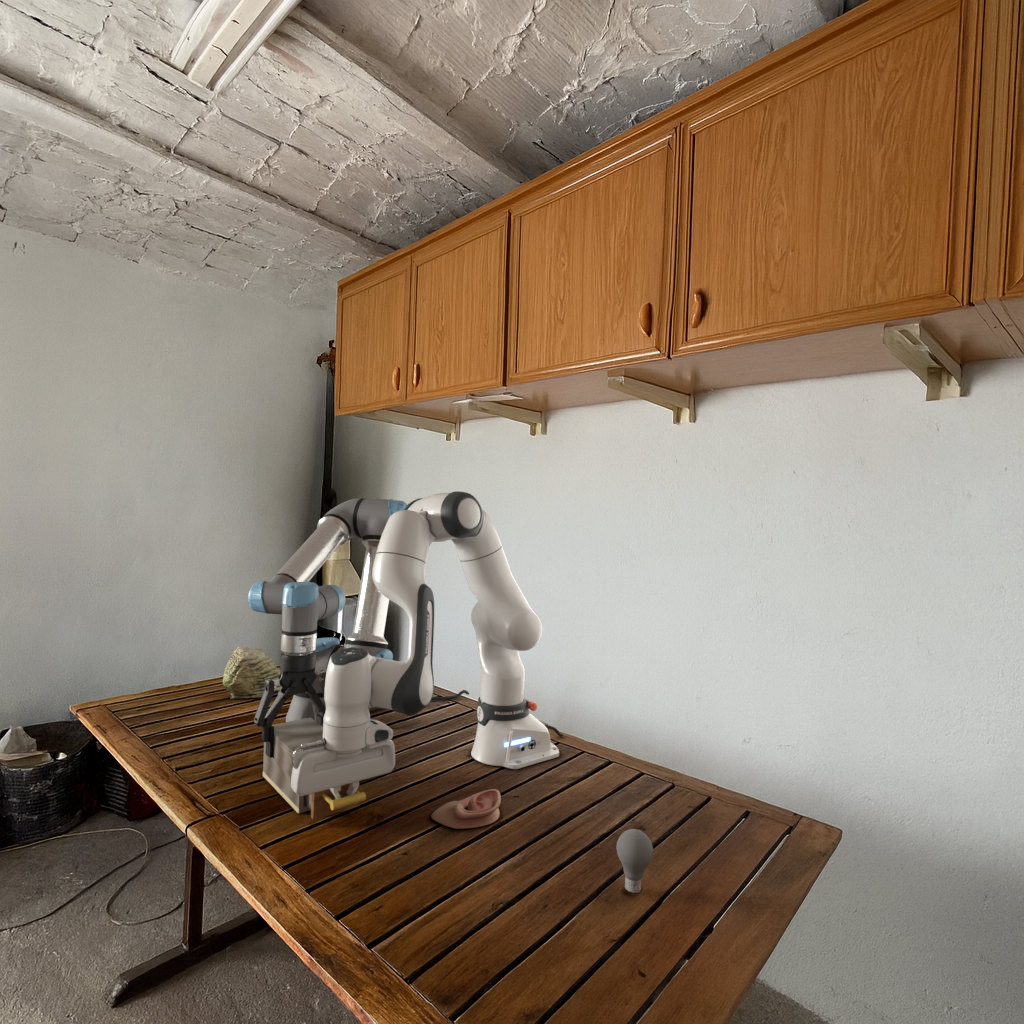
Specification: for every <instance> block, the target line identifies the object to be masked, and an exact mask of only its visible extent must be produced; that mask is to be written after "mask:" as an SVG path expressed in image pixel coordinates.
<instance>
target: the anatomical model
mask: <svg viewBox="0 0 1024 1024" xmlns="http://www.w3.org/2000/svg"><path fill="white" fill-rule="evenodd" d="M501 802H502V796H501V792H500V791H499V790H498V789H496V788H491V789H486V790H483V791H480V792H477V793H474V794H472V795H469V796H468V797H465V798H463V799H460V800H452V801H449V802H447V803H445V804H443V805H441V806H439V807H438V808H437V809H435V810H434V811H433V812H432V814H431V815H430V817H431V819H432V820H433V821H435V822H436V823H439V824H440V825H442V826H445V827H448V828H450V829H458V830H459V829H464V830H465V829H474V828H479V827H480V828H481V827H484V826H488V825H491V824H492V823H495V822H496V821H497V820H498V819H499V818H500V814H501V813H500V809H499V807H500V805H501Z"/></svg>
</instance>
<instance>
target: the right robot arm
mask: <svg viewBox="0 0 1024 1024" xmlns="http://www.w3.org/2000/svg"><path fill="white" fill-rule="evenodd" d="M450 540H451V542H452V543H453V544H454V546H455V550H456V553H457V556H458V559H459V563H460V565H461V568H462V571H463V574H464V577H465V580H466V582H467V585H468V588H469V590H470V591H471V593H472V594H473V595H474V597H475V598H476V600H477V602H476V603H475V604H474V606H473V607H472V609H471V613H470V621H471V623H472V626H473V628H474V631H475V636H476V643H477V649H478V657H479V663H480V683H479V685H480V687H479V697H478V699H477V700H478V701H477V710H476V717H477V725H476V727H477V728H476V734H475V737H474V742H473V745H472V749H471V752H470V754H471V757H472V758H473V759H474V760H475V761H477V762H479V763H481V764H485V765H488V766H489V765H490V766H494V767H495V766H496V767H504V768H507V769H511V770H519V769H522V768H526V767H529V766H532V765H535V764H539V763H542V762H545V761H549V760H553V759H555V758H559V757H560V749H559V748H558V747H557V746H556V745H555V744H554V743H553V742H552V741H551V735H550V730H552V731H553V732H555V734H556V735H557V736H558V737H559V738H562V737H564V734H563V733H561V732H560V731H559V729H558V728H556V727H554V726H552V725H549V724H548V723H547V722H544V721H541V720H539V719H538V718H537V717H535V716H534V715H533V714H531V713H530V711H532V712H535V711H537V709H538V704H537V703H536V702H534V701H533V700H531V701H530V700H528V699H527V698H525V697H524V696H525V679H526V677H525V676H526V675H525V674H526V673H525V671H526V670H525V666H524V664H523V661H522V658H521V656H520V652H525V651H530V650H532V649H533V648H535V647H536V646H537V645H538V643H539V642H540V640H541V638H542V635H543V624H542V623H543V622H542V621H541V619H540V617H539V616H538V615H537V614H536V612H534V610H533V609H532V607H531V605H530V604H529V602H528V600H527V599H526V597H525V595H524V593H523V591H522V589H521V588H520V586H519V585H518V582H517V581H516V579H515V577H514V575H513V572H512V570H511V567H510V564H509V562H508V558H507V555H506V553H505V550H504V547H503V544H502V541H501V539H500V537H499V533H498V531H497V528H496V527H495V525H494V523H493V521H492V520H491V518H490V516H489V514H488V513H487V512H486V511H485V510H484V509H482V506H481V504H480V502H479V501H478V498H476V497H475V496H474V495H472V494H471V493H469V492H467V491H466V492H465V491H459V490H458V491H451V492H441V493H434V494H431V495H428V496H425V497H419V498H416V499H414V500H412V501H410V502H409V503H407V506H406V507H405V508H404V509H403V510H401V511H397V512H395V513H393V514H392V515H391V516H390V518H389V519H388V521H387V524H386V526H385V528H384V531H383V533H382V536H381V539H380V542H379V545H378V548H377V552H376V556H375V560H374V565H373V571H372V578H373V581H374V584H375V586H376V588H377V589H378V590H379V592H380V593H381V594H382V595H383V596H385V597H386V598H388V599H389V601H391V602H392V603H394V604H396V605H398V606H399V607H400V608H402V609H403V610H404V612H405V613H406V614H407V618H408V621H409V627H408V628H409V629H408V646H407V657H406V658H407V659H406V660H405V661H401V660H400V661H399V660H394V659H393V660H388V659H384V658H378V657H374V656H371V655H369V653H368V651H367V650H365V649H363V648H357V647H351V648H345V649H341V650H339V651H337V652H335V653H334V654H332V656H331V657H330V660H329V663H328V666H327V671H326V678H325V690H324V700H325V703H326V711H325V714H324V718H323V739H321V740H316V741H313V742H310V743H303V744H301V745H300V747H298V748H297V749H296V750H295V751H294V752H293V758H292V764H293V770H292V776H291V788H292V790H293V791H294V792H295V793H296V794H297V795H299V796H305V795H308V794H312V793H316V792H320V791H323V790H327V789H330V790H331V792H332V793H333V795H334V796H335V800H336V799H339V798H343V797H346V796H350V795H353V794H355V792H356V790H357V789H358V787H359V788H360V781H364V780H367V779H368V780H369V779H371V778H376V777H379V776H382V775H387V774H390V773H392V772H393V770H394V768H395V767H396V745H395V743H394V741H393V740H392V739H393V737H394V730H393V729H392V728H391V727H390V726H388V725H387V724H385V723H384V722H382V721H380V720H378V719H373V718H372V719H371V712H369V709H370V708H371V707H373V708H374V707H379V708H381V709H384V710H390V711H394V712H396V713H399V714H402V715H404V716H405V715H406V716H409V717H412V716H415V715H417V714H419V713H420V712H422V711H423V710H424V709H425V708H426V707H428V705H430V703H431V701H432V700H431V699H432V697H434V691H435V680H434V679H435V678H434V668H433V667H434V665H433V661H434V659H433V657H434V637H435V636H434V634H435V597H434V592H433V589H432V588H431V587H430V586H429V585H428V583H427V580H426V566H427V561H428V557H429V548H430V546H431V545H432V543H442V542H446V541H450ZM519 651H520V652H519ZM299 749H300V750H299ZM346 784H350V785H349V788H348V790H347V792H346V793H344V794H340V795H339V793H338V791H340V790H341V786H342V785H346Z"/></svg>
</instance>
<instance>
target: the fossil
mask: <svg viewBox="0 0 1024 1024" xmlns="http://www.w3.org/2000/svg"><path fill="white" fill-rule="evenodd" d="M279 675H280V668H278V667H277V665H276V663H275V662H274V660H273V659H272V658H271V657H270V656H269V655H268V654H267V653H266V652H265V650H264V649H263V648H260V647H258V648H251V647H247V646H246V647H245V646H238V647H237V648H236V649H235V650H233V651H232V653H231V656H230V657H229V659H228V660H227V663H226V666H225V668H224V671H223V675H222V676H223V677H222V685H223V687H224V688H225V690H226V691H228V693H229V698H230V699H250V698H262V695H263V692H264V690H265V679H267V678H270V679H275V678H278V677H279ZM281 687H282V686H281V685H280V684H278V685H277V687H276V689H274V693H273V696H275V695H278V692H279V690H280V689H281Z"/></svg>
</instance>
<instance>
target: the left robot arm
mask: <svg viewBox="0 0 1024 1024" xmlns="http://www.w3.org/2000/svg"><path fill="white" fill-rule="evenodd" d="M407 505H408V503H407V502H405V501H404V500H398V499H392V498H390V499H387V498H385V499H383V498H380V499H379V498H362V497H358V498H357V497H356V498H351V499H348V500H346V501H344V502H340V504H338V505H336V506H334V507H333V508H331V509H330V510H329V511H327V512H326V513H325V514H324V515H323V516H322V517H321V518H320V519H319V520H318V522H317V525H316V529H315V530H314V531H313V532H312V534H311V535H310V536H308V538H307V539H306V540H305V541H304V542H303V543H302V544H301V546H300V547H299V548H298V549H297V550H296V551H295V552H294V553H293V555H292V556H291V557H290V558H289V559H288V560H287V561H286V562H285V563H284V565H282V567H281V568H280V569H279V570H278V571H277V572H276V573H275V575H274V576H273V577H272V578H270V580H269V581H266V580H263V581H257V582H254V583H253V584H252V585H251V587H250V589H249V591H248V595H247V601H248V605H249V607H250V609H251V610H252V611H253V612H256V613H262V614H267V615H281V622H282V623H281V637H280V639H281V640H280V651H281V652H282V653H281V654H280V662H279V663H280V664H279V670H280V675H279V677H278V678H275V679H270V678H267V679H265V690H264V692H263V695H262V697H260V700H259V703H258V706H257V709H256V712H255V715H254V716H253V717H254V718H253V720H252V721H253V724H254V725H255V726H257V727H259V728H261V740H262V741H263V743H264V742H266V755H267V756H268V757H269V758H272V757H273V751H274V727H273V726H272V725H273V724H274V721H275V720H276V719H277V716H278V715H279V713H280V711H281V710H282V708H283V706H284V705H285V703H286V701H287V700H289V698H290V697H291V696H293V697H292V699H291V702H290V704H289V708H288V711H287V713H286V715H285V722H289V721H294V720H300V719H305V718H312V719H313V720H315V721H316V722H317V723H319V724H320V725H321V726H323V718H324V714H325V711H326V703H325V700H324V690H325V678H326V671H327V666H328V663H329V660H330V657H331V656H332V654H334V653H335V652H337V651H339V650H341V649H345V648H351V647H357V648H363V649H365V650H367V651H368V653H369V655H371V656H374V657H378V658H384V659H388V660H394V659H393V658H394V654H393V652H392V650H390V649H388V646H389V642H388V641H387V639H385V636H384V635H385V629H386V624H387V623H386V622H387V615H388V611H389V610H388V609H389V604H390V603H389V602H390V600H389V599H388V598H386V597H385V596H383V595H382V594H381V593H380V592H379V590H378V589H377V588H376V586H375V584H374V581H373V578H372V571H373V565H374V560H375V556H376V552H377V548H378V545H379V542H380V539H381V536H382V533H383V531H384V528H385V526H386V524H387V521H388V519H389V518H390V516H391V515H392V514H393V513H395V512H397V511H401V510H403V509H404V508H405V507H406V506H407ZM355 538H358V539H361V544H362V545H363V546H364V547H365V554H364V555H365V556H364V559H363V567H362V573H361V577H360V585H359V591H358V597H357V601H356V609H355V615H354V620H353V625H352V632H351V634H350V635H348V636H347V637H346V638H345V640H344V644H343V645H342V644H340V643H341V641H340V639H339V638H338V637H334V636H333V637H318V621H320V620H324V619H327V618H332V617H334V616H335V615H337V614H339V613H340V612H341V611H342V610H343V609H344V607H345V605H346V600H347V599H346V594H345V593H344V591H343V589H342V588H341V587H340V586H338V585H336V584H323V585H318V584H317V583H316V582H314V581H313V582H312V581H311V579H312V578H313V577H314V576H315V575H316V574H317V572H318V571H320V569H321V568H322V566H323V565H325V563H326V562H327V560H328V559H330V557H331V556H332V554H333V553H334V552H335V551H336V550H337V548H338V547H339V546H342V545H344V544H346V543H347V542H348V541H349V540H350V539H355ZM317 637H318V638H317ZM278 684H280V685H281V686H282V687H281V689H280V690H279V692H278V694H277V696H276V698H275V699H274V701H273V702H272V700H273V696H274V695H273V693H274V689H276V687H277V685H278ZM463 694H465V695H467V696H468V695H470V692H469V691H468V690H466V689H464V690H461V691H460V692H458V693H457V694H454V695H450V696H432V699H431V701H447V700H448V701H449V700H454V699H458V698H459V697H461V696H462V695H463ZM271 702H272V704H271ZM380 709H382V708H379V707H374V706H373V707H369V713H371V712H375V711H378V710H380Z"/></svg>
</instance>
